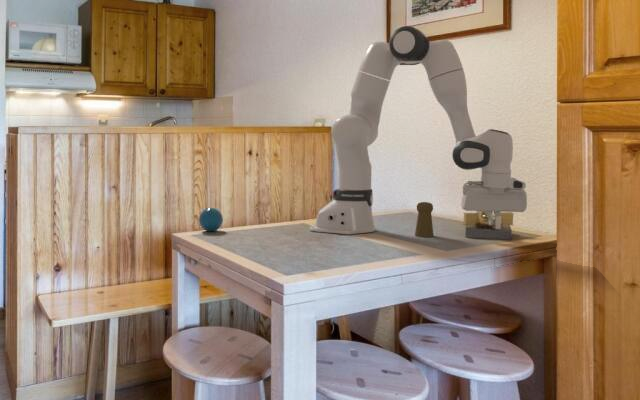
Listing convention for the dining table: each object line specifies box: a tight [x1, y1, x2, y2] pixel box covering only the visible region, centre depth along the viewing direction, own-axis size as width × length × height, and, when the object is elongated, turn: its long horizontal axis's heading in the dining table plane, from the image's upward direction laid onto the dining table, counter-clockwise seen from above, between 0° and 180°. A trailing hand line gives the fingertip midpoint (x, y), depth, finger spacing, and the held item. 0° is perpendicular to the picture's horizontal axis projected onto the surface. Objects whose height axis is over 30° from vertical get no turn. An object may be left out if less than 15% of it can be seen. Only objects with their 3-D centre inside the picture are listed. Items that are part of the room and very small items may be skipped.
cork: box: [414, 201, 434, 239], centre depth 187 cm, size 6×6×11 cm
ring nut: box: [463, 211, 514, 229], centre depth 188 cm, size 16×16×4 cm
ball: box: [198, 207, 224, 233], centre depth 194 cm, size 8×8×8 cm
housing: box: [464, 225, 513, 241], centre depth 189 cm, size 14×13×3 cm
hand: (492, 225), depth 183 cm, fingers closed, pressing on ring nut
